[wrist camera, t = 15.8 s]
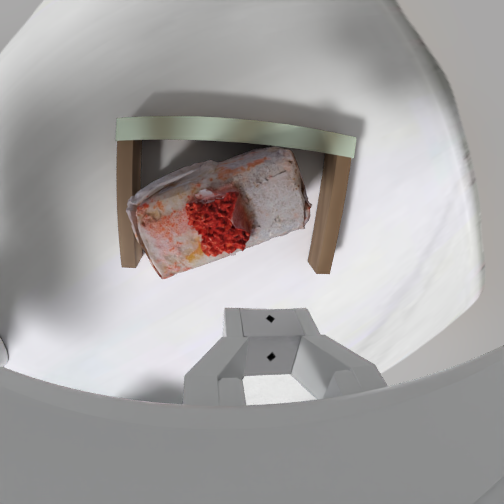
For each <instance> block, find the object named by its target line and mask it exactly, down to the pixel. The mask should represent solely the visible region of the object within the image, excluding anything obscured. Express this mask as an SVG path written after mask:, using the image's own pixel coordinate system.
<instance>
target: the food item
mask: <svg viewBox="0 0 504 504" xmlns="http://www.w3.org/2000/svg"><path fill="white" fill-rule="evenodd" d="M127 205H128V207H127V209H126V212H127V214H128V217H129V219H130V221H131V223H132V229H133V232H134V234H135V237H136V239H137V241H138V243H139V245H140V246H141V247H142V249H143V250H144V251H145V253H146V255H147V256H148V259H149V261H150V263H151V265H152V267H153V268H154V270H155V271H156V272H157V274H158V275H159V276H160V277H161V278H162V279H166V278H169V277H171V276H173V275H175V274H177V273H181V272H184V271H187V270H190V269H193V268H196V267H199V266H202V265H205V264H208V263H210V262H213V261H216V260H219V259H221V258H224V257H227V256H230V255H231V256H232V255H236V252H238V251H243V250H244V249H246V248H248V247H252V246H254V245H258V244H260V243H262V242H264V241H267V240H270V239H271V238H274V237H277V236H283V235H286V234H288V233H290V232H292V231H294V230H297V229H305V227H304V226H305V224H306V223H307V222H308V221H309V218H310V208H311V206H312V204H310V203H309V202H308V197H307V195H306V190H305V185H304V182H303V179H302V176H301V173H300V170H299V167H298V165H297V162H296V159H295V157H294V154H293V153H292V151H291V150H286V149H285V148H280V147H276V146H271V145H270V146H269V147H267V148H257V149H253V150H251V151H249V152H246V153H243V154H240V155H237V156H234V157H232V158H231V159H228V160H225V161H221V162H215V161H213V160H208V161H205V162H200V163H194V164H193V165H191V166H185V167H183V168H181V169H178V170H176V171H174V172H171V173H169V174H167V175H165V176H163V177H161V178H159V179H157V180H155V181H154V182H152V183H150V184H148V185H147V186H146V187H144V188H142V189H141V190H139V191H138V192H137V193H136V194H135V196H131V197H130V199H129V200H128V203H127Z"/></svg>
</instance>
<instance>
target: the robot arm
mask: <svg viewBox="0 0 504 504" xmlns="http://www.w3.org/2000/svg"><path fill="white" fill-rule="evenodd" d="M7 362H8V354H7V351H6V348H5V346H4V344H3V342H2V340H1V338H0V504H504V345H503V346H501V347H499V348H497V349H495V350H493V351H490V352H488V353H486V354H484V355H481V356H479V357H477V358H474V359H472V360H469V361H467V362H464V363H462V364H459V365H456V366H453V367H451V368H448V369H445V370H442V371H439V372H436V373H433V374H430V375H427V376H424V377H420V378H417V379H414V380H411V381H407V382H403V383H399V384H396V385H392V386H387V384H386V382H385V381H384V379H383V377H382V376H381V374H380V372H379V371H378V369H377V367H376V366H375V364H373V363H371V362H369V361H368V360H366V359H364V358H363V357H361V356H359V355H358V354H356V353H354V352H352V351H351V350H349V349H347V348H346V347H344V346H342V345H341V344H339V343H337V342H336V341H334V340H332V339H331V338H329V337H327V336H326V335H320V333H319V331H318V329H317V327H316V325H315V323H314V321H313V319H312V317H311V315H310V313H309V311H308V309H306V308H294V309H250V308H225V309H224V320H223V337H222V338H221V339H220V340H219V341H218V342H217V343H216V344H215V345H214V346H213V347H212V348H211V349H210V350H209V351H208V352H207V353H206V354H205V355H204V356H203V357H202V358H201V359H200V360H199V361H198V362H197V363H196V364H195V365H194V367H193V368H192V369H191V370H190V371H189V372H188V373H187V374H186V375H185V377H184V390H183V404H168V403H157V402H148V401H139V400H132V399H125V398H118V397H112V396H106V395H101V394H95V393H90V392H86V391H81V390H77V389H72V388H68V387H64V386H60V385H57V384H53V383H49V382H46V381H43V380H39V379H36V378H33V377H30V376H27V375H24V374H21V373H18V372H15V371H12V370H9V369H7V368H4V366H5V365H6V364H7ZM278 374H291V376H292V377H294V378H295V379H296V380H297V381H298V382H299V383H300V384H301V385H302V386H303V387H304V388H305V389H306V390H307V391H308V392H309V393H311V394H312V395H313V396H314V397H315V398H316V399H317V400H310V401H301V402H291V403H280V404H265V405H246V400H245V394H244V387H243V381H242V379H243V378H244V376H255V375H278Z"/></svg>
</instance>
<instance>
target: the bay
mask: <svg viewBox="0 0 504 504" xmlns="http://www.w3.org/2000/svg"><path fill="white" fill-rule="evenodd" d="M157 139H172V140H209V141H226V142H240V143H252V144H262V145H272V146H280V147H288V148H296V149H303V150H309V151H316V152H322V153H325V158H324V165H323V172H322V179H321V186H320V193H319V199H318V206H317V212H316V218H315V224H314V230H313V235H312V241H311V247H310V252H309V257H308V262H309V264H310V265H311V267H312V268H313V270H314V271H315V272H316V274H330V270H331V266H332V261H333V257H334V252H335V248H336V243H337V238H338V233H339V228H340V223H341V218H342V213H343V207H344V202H345V196H346V190H347V184H348V178H349V171H350V165H351V158H354V154H355V147H356V139H357V137H352V136H348V135H343V134H339V133H334V132H329V131H324V130H319V129H313V128H307V127H301V126H295V125H288V124H281V123H274V122H265V121H256V120H246V119H235V118H220V117H200V116H145V117H125V118H117V123H116V139H115V141H117V214H118V231H119V244H120V255H121V265H122V267H126V268H136V267H137V265H138V263H139V261H140V259H141V258H142V256H143V252H142V247H141V246H140V245H139V243H138V241H137V239H136V237H135V234H134V232H133V229H132V223H131V221H130V219H129V217H128V214H127V212H126V209H127V207H128V205H127V203H128V200H129V199H130V197H131V196H135V194H136V193H137V192H138V191H139V190H141V150H142V140H157Z"/></svg>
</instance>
